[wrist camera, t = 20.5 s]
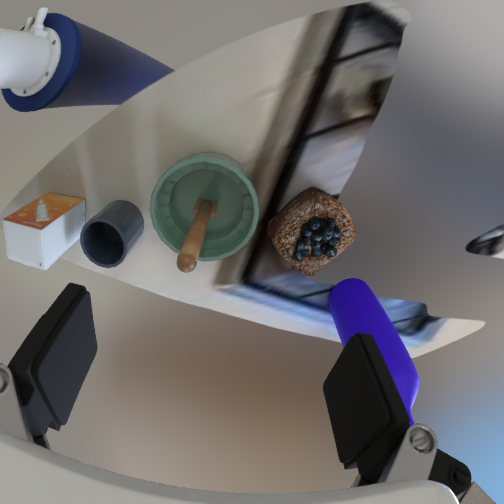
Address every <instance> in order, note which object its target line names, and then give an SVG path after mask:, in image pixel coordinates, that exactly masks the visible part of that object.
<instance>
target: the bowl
mask: <svg viewBox="0 0 504 504" xmlns="http://www.w3.org/2000/svg"><path fill="white" fill-rule="evenodd" d="M198 198H201V199H208V200H212V201H217V202H218V207H217V211H216V215H215V218H213V217H210V219H209V222H208V225H207V229H206V232H205V236H204V239H203V243H202V246H201V250H200V253H199V257H198V260H199V261H213V260H220V259H223V258H225V257H228V256H230V255H233V254H235V253H236V252H237V251H238V250H240V249H241V248H242V247H243V246H245V245H246V244H247V242H248V241H249V239H250V238H251V236H252V235H253V233H254V232H255V229H256V225H257V221H258V217H259V207H258V197H257V191H256V187H255V185H254V183H253V180H252V178H251V176H250V174H249V173H248V172H247V171H246V170H245V169H244V168H243V167H242V165H241V164H240V163H238V162H237V161H235V160H233V159H231V158H229V157H228V156H226V155H223V154H217V153H212V152H204V153H197V154H192V155H190V156H188V157H186V158H184V159H182V160H180V161H178V162H177V163H176V164H174V165H173V166H172V167H171V168H170V169H169V170H168V171H167V172H166V173H165V174H164V175H163V176H162V177H161V178H160V179H159V180H158V182H157V184H156V187H155V189H154V191H153V193H152V197H151V207H150V212H151V217H152V221H153V226H154V228H155V230H156V231H157V233H158V235H159V237H160V238H161V240H162V241H163V242H164V243H165V244H166V245H167V246H168V247H169V248H171V249H172V250H173V251H174V252H176V253H178V254H179V253H180V251H181V248H182V246H183V243H184V241H185V239H186V236H187V234H188V231H189V229H190V227H191V224H192V222H193V220H194V217H195V215H196V214H192V211H193V208H194V206H195V204H196V202H197V200H198Z"/></svg>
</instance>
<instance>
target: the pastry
mask: <svg viewBox="0 0 504 504" xmlns="http://www.w3.org/2000/svg"><path fill="white" fill-rule="evenodd" d="M267 232H268V234H269V236H270V238H271V240H272V243H273V245H274V248H275V249H276V250H277V251H278V253H279V254H280V255H281V256H282V258H283V259H284V260H285V261H286V262H287V263H289V264H290V265H291V266H292V268H295V269H297V270H299V271H300V272H301V274H303V275H304V274H305V275H307V276H308V275H311V276H314V272H315V273H316V272H317V271H318V270H319V269H321V268H323V267H324V266H325V265H327V264H328V263H330V262H331V261H332V260H333V259H334V258H336V257H337V256H338V255H339V254H340V253H341V252H343V251H344V250H345V249H346V248H347V247H348V246H350V244H351V243H352V242H354V241H355V237H356V236H357V233H356V229H355V225H354V222H353V219H352V217H351V216H350V214H349V212H348V211H347V209H346V208H345V207H344V206H343V205H342V204H341V203H340V202H339V201H338V200H337V199H335V198H334V197H332V196H331V195H329V194H327V193H325V192H324V191H322V190H320V189H317V188H315V187H311V188H308V189H306V190H304V191H303V192H301V193H300V194H298V195H297V196H296V197H294V198H293V199H292V200H291V201H290V202H289V203H288V204H287V205H286V206H285V207H284V208H283V209H282V210H281V211H280V212H279V213H278V214H277V215H276V216H275V217H273V218H272V219H271V220H270V221H269V224H268V228H267Z"/></svg>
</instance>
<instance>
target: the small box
mask: <svg viewBox="0 0 504 504" xmlns="http://www.w3.org/2000/svg"><path fill="white" fill-rule="evenodd" d="M84 225H85V199H82V198H75V197H70V196H64V195H59V194H55V193H50V192H49V193H47V194H45V195H44V196H42V197H40V198H38V199H36V200H35V201H33V202H31V203H30V204H28V205H26V206H24V207H23V208H21V209H19V210H18V211H16V212H14V213H13V214H11V215H10V216H8V217H6V218H5V219H3V228H4V237H5V245H6V252H7V258H9V259H11V260H14V261H17V262H20V263H22V264H25V265H27V266H32V267H35V268H38V269H42V270H45V271H46V270H47V269H48V268H49V267H50V266H51V265H52V264H53V263H54V262H55V261H56V260H57V259H58V258H59V257H60V256H61V255H62V254H63V253H64V252H65V251H66V250H67V249H68V248H69V247H70V246H71V245H72V244H73V243H74V242H76V241H77V240H78V239H79V238H80V233H81V231H82V228H83V226H84Z"/></svg>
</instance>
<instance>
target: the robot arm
mask: <svg viewBox="0 0 504 504" xmlns="http://www.w3.org/2000/svg"><path fill="white" fill-rule="evenodd" d="M47 11H48V8H39V9H38V11H37V14H36V17H35V22H34V25H32V23H33V20H34V17H28V18H27V21H26V24H25V28H24V30H22V31H19V30H12V29H7V28H1V27H0V89H4V88H10V89H11V90H12V92H13V93H15V94H16V95H18V96H30V95H33V94H35V93H37V92H39V91H40V90H41V89H42V88H44V86H45V85H46V84H47V83H48V82H49V81H50V79H51V78H52V76H53V74H54V73H55V71H56V68H57V66H58V63H59V60H60V55H61V41H60V38H59V36H58V34H57V33H56V31H54V30H53V29H51V28H48V27H44V25H43V22H44V19H45V17H46V14H47ZM31 25H32V26H31ZM96 352H97V341H96V335H95V328H94V322H93V314H92V306H91V298H90V293H89V292H88V291H86V288H85V287H84V286H82V285H78V284H74V283H69V284H68V285H67V286H66V288H65V289H64V290H63V291H62V293H61V294H60V295H59V296H58V298H57V299H56V300H55V302H54V303H53V304H52V305H51V307H50V308H49V309H48V311H47V312H46V314H44V315H43V316H42V317H41V318H40V319H39V320H38V322H37V323H36V325H35V326H34V327H33V329H32V330H31V332H30V333H29V335H28V336H27V337H26V339H25V340H24V342H23V343H22V345H21V347H20V348H19V349H18V351H17V352H16V354H15V355H14V357H13V358H12V360H11V361H10V363H9V365H8V366H5V365H4V364H2V363H0V504H496V503H495V502H494V501H493V500H492V499H491V498H490V497H489V496H488V495H487V494H486V493H485V492H484V491H483V490H482V489H481V488H480V487H479V486H478V485H477V484H476V483H475V482H472V483H471V473H470V470H469V469H468V467H467V466H466V465H465V464H463V463H462V462H460V461H458V460H457V459H455V458H453V457H451V456H450V455H448V454H446V453H444V452H443V451H441V450H439V449H438V448H437V447H438V441H437V437H436V435H435V433H434V432H433V431H432V429H431V428H429V427H428V426H426V425H423V424H413V425H412V426H410V424H409V422H410V421H411V420H410V418H409V415H408V413H407V410H406V408H405V406H404V403H403V401H402V399H401V396H400V394H399V392H398V389H397V387H396V385H395V383H394V380H393V378H392V376H391V374H390V372H389V369H388V367H387V365H386V363H385V361H384V358H383V356H382V354H381V352H380V350H379V348H378V346H377V344H376V342H375V340H374V337H373V336H372V335H371V334H366V333H356V334H355V335H354V336H351V337H350V338H349V340H348V342H347V344H346V345H345V347H344V349H343V351H342V353H341V354H340V356H339V358H338V360H337V362H336V363H335V365H334V366H333V368H332V370H331V371H330V373H329V375H328V376H327V378H326V380H325V382H324V384H323V391H324V395H325V400H326V403H327V408H328V412H329V417H330V421H331V425H332V429H333V434H334V438H335V442H336V447H337V452H338V456H339V460H340V462H341V463H343V464H344V469H352V468H358V471H359V474H358V476H357V477H356V479H355V481H354V482H353V484H352V486H351V487H350V488H346V489H338V490H330V491H320V492H308V493H289V494H247V493H246V494H245V493H228V492H215V491H206V490H198V489H190V488H183V487H177V486H170V485H166V484H160V483H155V482H150V481H146V480H141V479H137V478H133V477H129V476H125V475H122V474H118V473H115V472H111V471H108V470H105V469H101V468H98V467H95V466H92V465H89V464H86V463H83V462H80V461H77V460H75V459H72V458H69V457H67V456H64V455H61V454H59V453H56V452H54V451H52V450H51V448H50V445H49V443H48V440H47V437H46V432H47V430H48V427H50V428H52V429H55V430H57V431H59V430H60V427H61V425H65V424H66V423H67V420H68V418H69V415H70V413H71V410H72V408H73V405H74V403H75V401H76V398H77V396H78V393H79V391H80V389H81V386H82V384H83V382H84V379H85V377H86V375H87V373H88V371H89V368H90V366H91V364H92V362H93V360H94V357H95V355H96Z"/></svg>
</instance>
